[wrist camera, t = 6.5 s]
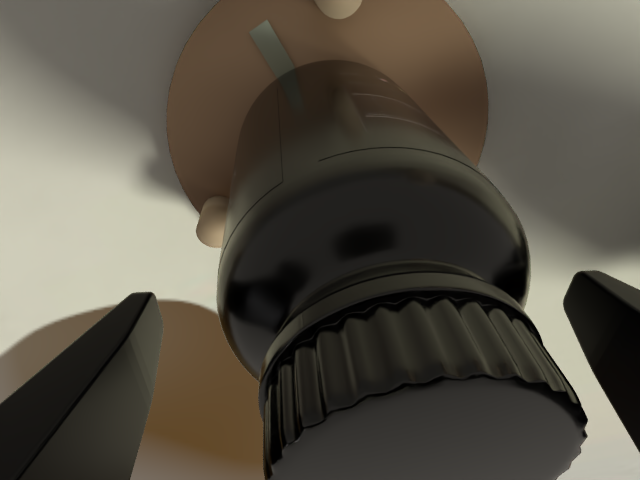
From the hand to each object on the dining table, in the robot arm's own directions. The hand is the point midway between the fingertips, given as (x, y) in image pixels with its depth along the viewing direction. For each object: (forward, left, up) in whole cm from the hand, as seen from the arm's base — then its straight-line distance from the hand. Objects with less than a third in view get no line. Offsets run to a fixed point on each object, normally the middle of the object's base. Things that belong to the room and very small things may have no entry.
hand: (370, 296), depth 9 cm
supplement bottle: (0, 0, -8) cm, 9 cm away
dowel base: (0, 0, -9) cm, 9 cm away
